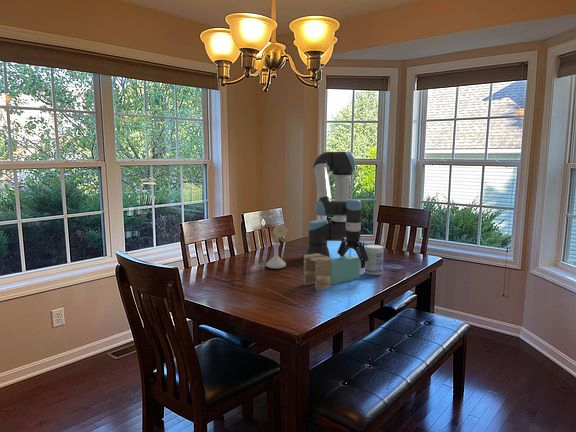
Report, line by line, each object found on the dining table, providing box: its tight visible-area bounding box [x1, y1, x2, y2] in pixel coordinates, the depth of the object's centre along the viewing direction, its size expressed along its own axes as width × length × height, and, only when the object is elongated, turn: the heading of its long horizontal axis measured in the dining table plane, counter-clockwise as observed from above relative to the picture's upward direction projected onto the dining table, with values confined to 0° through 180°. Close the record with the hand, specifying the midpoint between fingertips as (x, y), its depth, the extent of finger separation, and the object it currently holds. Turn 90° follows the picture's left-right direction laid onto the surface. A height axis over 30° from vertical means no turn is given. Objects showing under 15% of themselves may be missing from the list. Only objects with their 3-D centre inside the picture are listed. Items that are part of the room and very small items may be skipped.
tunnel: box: [303, 253, 332, 291], centre depth 201 cm, size 11×8×15 cm
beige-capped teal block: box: [331, 255, 360, 285], centre depth 210 cm, size 5×19×11 cm, turn 125°
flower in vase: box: [265, 223, 289, 269], centre depth 233 cm, size 13×11×25 cm
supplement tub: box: [364, 244, 384, 276], centre depth 224 cm, size 10×10×15 cm
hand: (351, 271), depth 214 cm, fingers open, 13 cm apart
